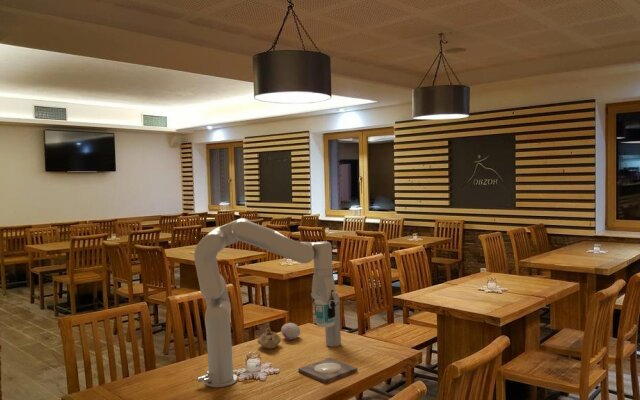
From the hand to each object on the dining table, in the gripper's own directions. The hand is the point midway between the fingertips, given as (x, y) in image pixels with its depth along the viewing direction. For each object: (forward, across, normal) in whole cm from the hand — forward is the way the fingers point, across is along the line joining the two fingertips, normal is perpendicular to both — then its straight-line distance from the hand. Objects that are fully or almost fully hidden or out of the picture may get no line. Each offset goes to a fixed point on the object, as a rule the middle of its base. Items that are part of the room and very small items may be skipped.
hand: (325, 315), depth 209 cm
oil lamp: (+24, -43, +1) cm, 49 cm away
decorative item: (+24, -47, +16) cm, 55 cm away
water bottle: (+23, -23, +23) cm, 40 cm away
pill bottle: (+4, 0, 0) cm, 4 cm away
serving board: (+23, 0, 0) cm, 23 cm away
